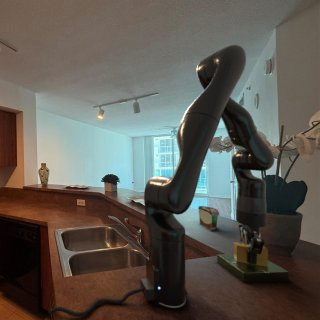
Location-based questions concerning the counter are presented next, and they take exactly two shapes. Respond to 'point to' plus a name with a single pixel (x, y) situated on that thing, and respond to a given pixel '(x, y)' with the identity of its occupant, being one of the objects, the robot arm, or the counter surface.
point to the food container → (208, 217)
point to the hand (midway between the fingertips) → (249, 260)
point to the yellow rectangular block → (241, 254)
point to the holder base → (252, 270)
